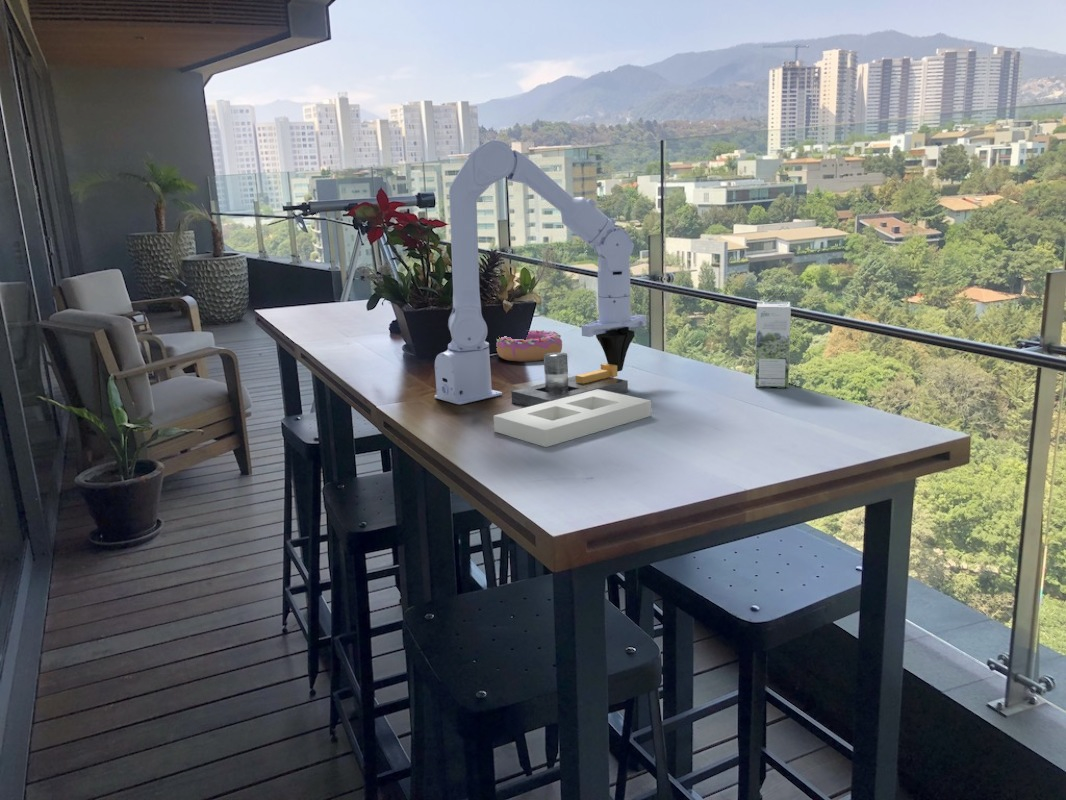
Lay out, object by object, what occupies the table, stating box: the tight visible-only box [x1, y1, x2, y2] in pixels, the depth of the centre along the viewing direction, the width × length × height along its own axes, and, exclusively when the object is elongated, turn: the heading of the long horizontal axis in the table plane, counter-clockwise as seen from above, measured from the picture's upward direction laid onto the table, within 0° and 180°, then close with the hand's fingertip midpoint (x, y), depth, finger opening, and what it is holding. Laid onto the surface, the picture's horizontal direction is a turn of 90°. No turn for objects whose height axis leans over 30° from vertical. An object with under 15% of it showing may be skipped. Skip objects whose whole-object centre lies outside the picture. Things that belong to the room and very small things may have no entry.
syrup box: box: [754, 301, 792, 389], centre depth 151 cm, size 6×6×14 cm
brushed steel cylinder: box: [543, 352, 569, 394], centre depth 148 cm, size 4×4×8 cm
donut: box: [495, 329, 563, 363], centre depth 188 cm, size 14×14×5 cm
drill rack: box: [493, 389, 652, 448], centre depth 134 cm, size 22×12×2 cm, turn 130°
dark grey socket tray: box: [511, 375, 629, 407], centre depth 151 cm, size 18×10×2 cm, turn 130°
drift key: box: [575, 362, 618, 384], centre depth 154 cm, size 8×3×2 cm, turn 130°
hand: (615, 370), depth 157 cm, fingers closed
